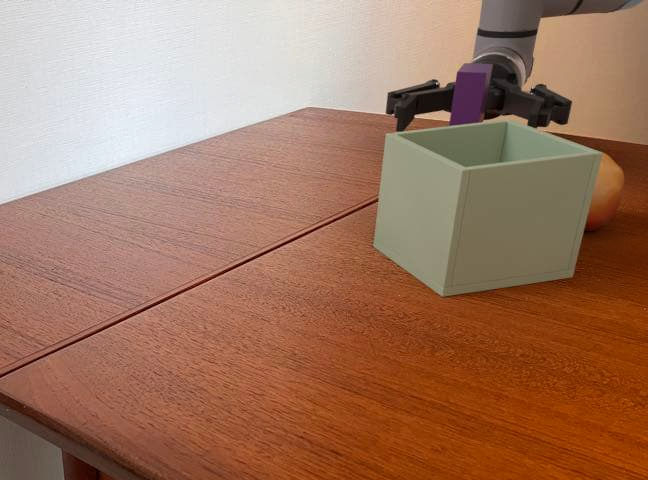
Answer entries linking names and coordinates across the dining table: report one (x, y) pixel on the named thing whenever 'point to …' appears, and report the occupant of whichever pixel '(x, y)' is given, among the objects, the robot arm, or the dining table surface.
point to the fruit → (605, 194)
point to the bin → (484, 205)
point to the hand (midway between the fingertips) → (463, 123)
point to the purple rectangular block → (470, 94)
